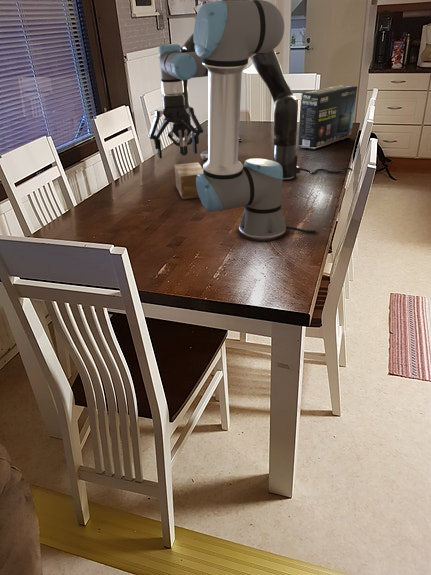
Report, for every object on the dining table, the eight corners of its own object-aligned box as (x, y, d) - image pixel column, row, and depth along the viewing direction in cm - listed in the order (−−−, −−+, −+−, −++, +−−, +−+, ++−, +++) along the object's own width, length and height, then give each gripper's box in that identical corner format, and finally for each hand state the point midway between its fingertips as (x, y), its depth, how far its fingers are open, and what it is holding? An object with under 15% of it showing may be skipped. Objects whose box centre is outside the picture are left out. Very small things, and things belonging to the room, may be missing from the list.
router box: (314, 151, 231) (318, 94, 217) (296, 148, 237) (299, 92, 224) (352, 138, 251) (358, 85, 238) (335, 135, 258) (340, 83, 245)
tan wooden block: (176, 186, 192) (174, 164, 188) (199, 183, 194) (198, 162, 189) (182, 199, 179) (180, 176, 174) (207, 196, 181) (206, 173, 176)
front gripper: (203, 89, 167) (205, 148, 178) (135, 96, 160) (142, 157, 171) (210, 92, 161) (212, 153, 172) (140, 99, 154) (147, 162, 165)
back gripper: (195, 108, 187) (197, 151, 196) (162, 111, 185) (166, 154, 194) (198, 111, 181) (201, 155, 190) (165, 114, 179) (169, 159, 188)
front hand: (177, 155), depth 171 cm, fingers open, 13 cm apart
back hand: (183, 155), depth 192 cm, fingers closed
